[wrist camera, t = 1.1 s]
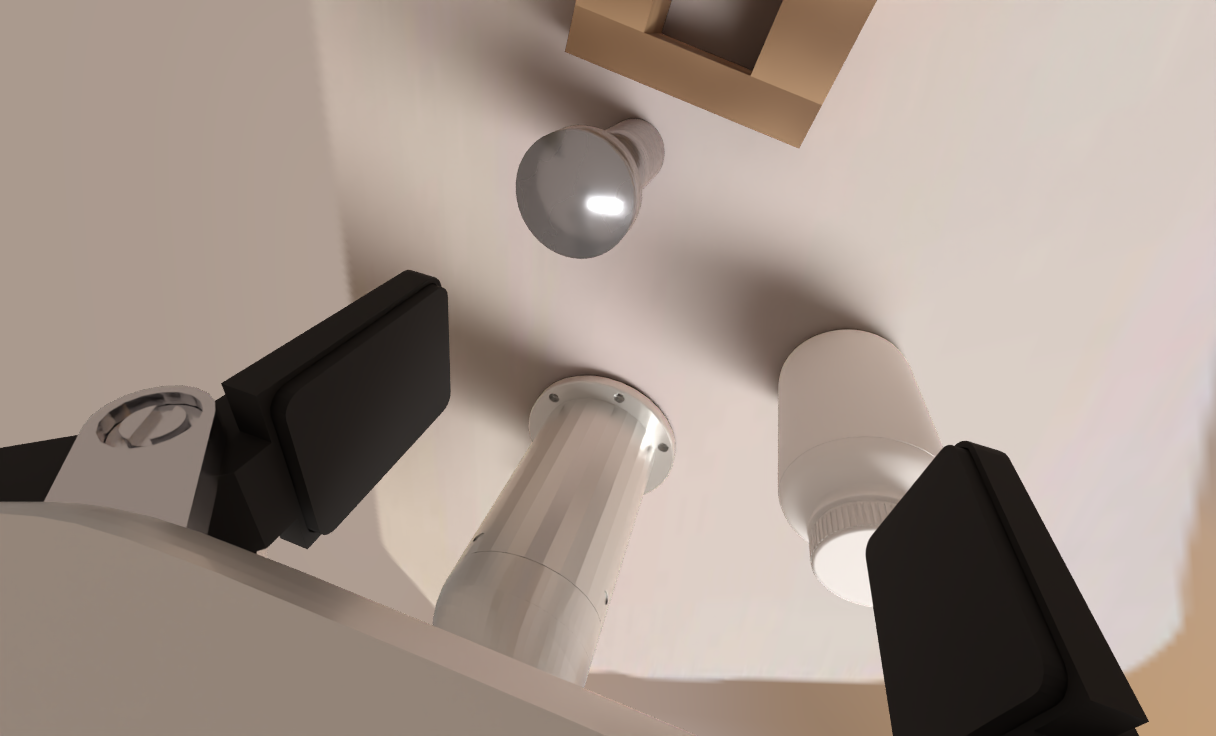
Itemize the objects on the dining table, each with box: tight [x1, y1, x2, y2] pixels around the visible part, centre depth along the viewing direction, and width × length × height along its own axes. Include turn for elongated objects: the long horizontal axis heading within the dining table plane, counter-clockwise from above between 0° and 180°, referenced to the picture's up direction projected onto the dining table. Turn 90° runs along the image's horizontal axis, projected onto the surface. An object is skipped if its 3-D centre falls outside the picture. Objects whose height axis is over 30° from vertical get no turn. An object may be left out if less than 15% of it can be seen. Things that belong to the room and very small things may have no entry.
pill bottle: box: [778, 329, 943, 607], centre depth 27 cm, size 8×8×15 cm
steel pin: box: [516, 119, 665, 259], centre depth 25 cm, size 5×5×10 cm
